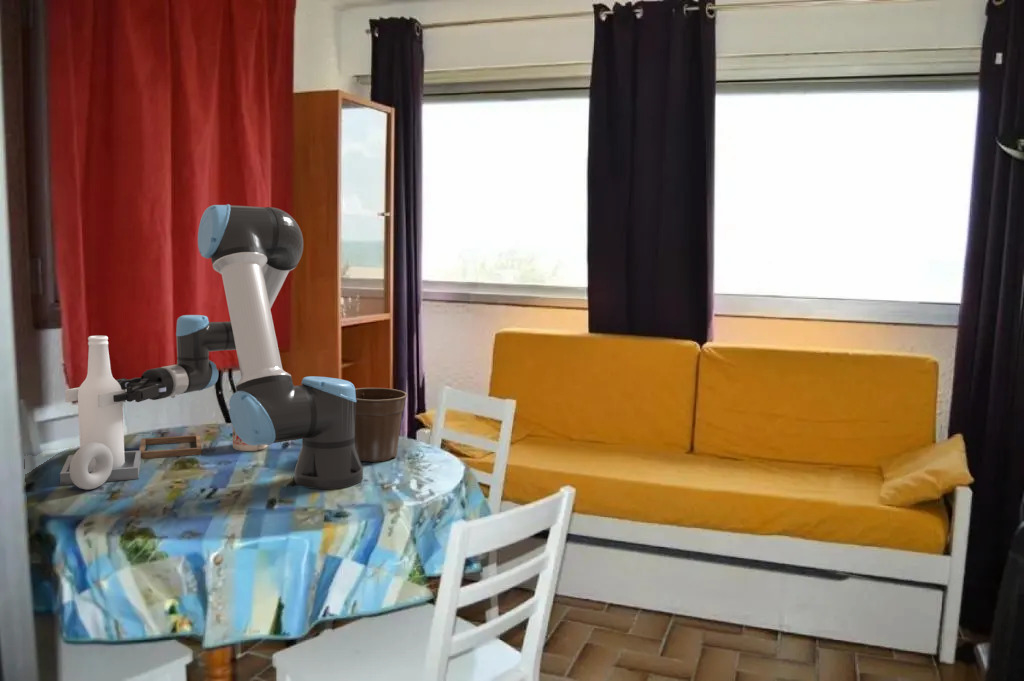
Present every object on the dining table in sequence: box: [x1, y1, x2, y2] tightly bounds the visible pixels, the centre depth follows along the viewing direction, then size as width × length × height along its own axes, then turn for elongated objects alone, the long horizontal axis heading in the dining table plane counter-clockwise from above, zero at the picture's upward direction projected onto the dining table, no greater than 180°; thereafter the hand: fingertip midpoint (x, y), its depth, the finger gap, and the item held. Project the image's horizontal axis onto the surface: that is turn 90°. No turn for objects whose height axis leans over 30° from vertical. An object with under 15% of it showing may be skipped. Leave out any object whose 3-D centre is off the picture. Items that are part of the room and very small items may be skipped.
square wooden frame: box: [139, 434, 203, 460], centre depth 196 cm, size 14×14×2 cm
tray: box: [59, 450, 142, 486], centre depth 175 cm, size 15×15×2 cm
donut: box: [69, 442, 113, 491], centre depth 164 cm, size 10×4×10 cm, turn 161°
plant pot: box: [355, 387, 408, 463], centre depth 195 cm, size 16×16×16 cm
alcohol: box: [77, 335, 125, 470], centre depth 173 cm, size 9×9×30 cm
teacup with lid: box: [231, 424, 269, 452], centre depth 199 cm, size 12×9×12 cm
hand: (82, 398), depth 169 cm, fingers open, 9 cm apart
